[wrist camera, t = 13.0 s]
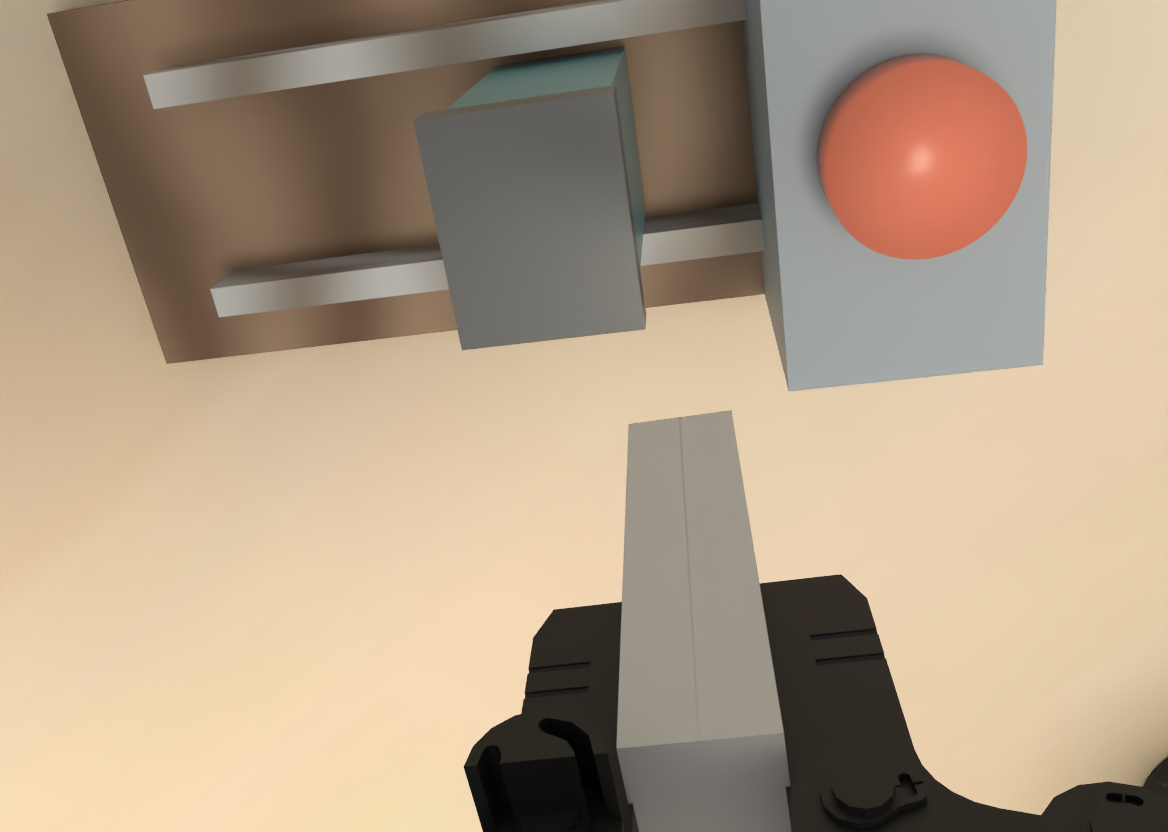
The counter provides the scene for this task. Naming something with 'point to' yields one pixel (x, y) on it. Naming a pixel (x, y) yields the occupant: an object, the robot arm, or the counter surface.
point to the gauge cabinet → (844, 265)
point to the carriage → (539, 201)
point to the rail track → (378, 152)
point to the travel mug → (1159, 780)
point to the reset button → (921, 156)
